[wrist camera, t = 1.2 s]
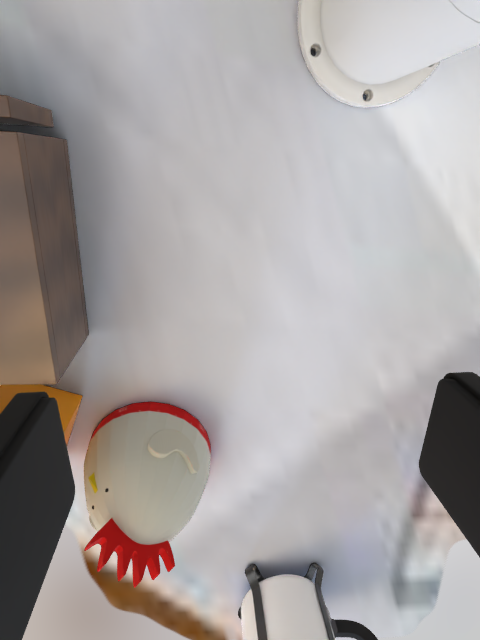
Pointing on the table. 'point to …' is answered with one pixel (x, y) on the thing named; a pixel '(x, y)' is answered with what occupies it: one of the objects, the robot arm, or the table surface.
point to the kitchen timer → (144, 483)
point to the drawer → (23, 113)
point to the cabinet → (38, 261)
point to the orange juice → (65, 400)
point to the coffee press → (292, 610)
